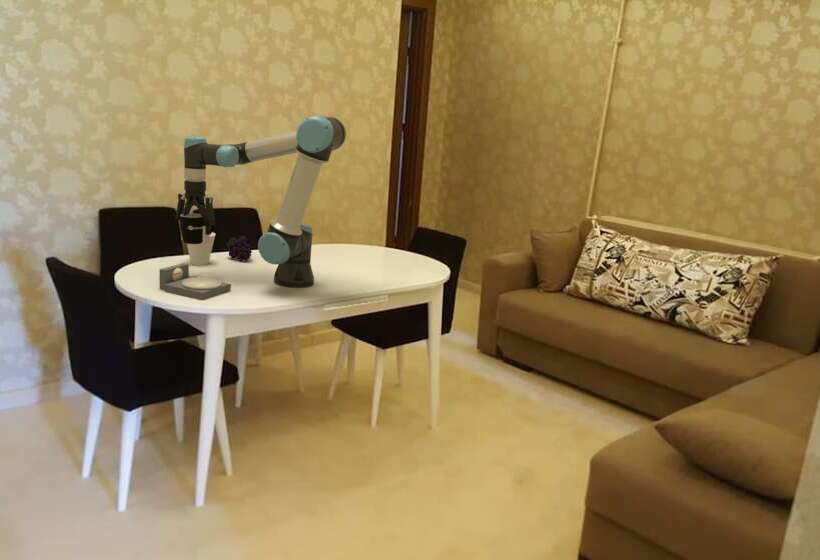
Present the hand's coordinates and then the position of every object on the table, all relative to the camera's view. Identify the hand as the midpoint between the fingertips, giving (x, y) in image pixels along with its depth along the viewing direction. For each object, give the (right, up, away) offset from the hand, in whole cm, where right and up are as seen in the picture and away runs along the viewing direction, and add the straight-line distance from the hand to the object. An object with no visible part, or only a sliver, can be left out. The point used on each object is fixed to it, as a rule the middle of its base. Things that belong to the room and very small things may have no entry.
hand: (195, 241), depth 243 cm
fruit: (+7, -6, +36) cm, 37 cm away
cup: (-6, -8, +23) cm, 25 cm away
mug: (+1, -1, 0) cm, 1 cm away
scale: (+4, -18, -14) cm, 23 cm away
